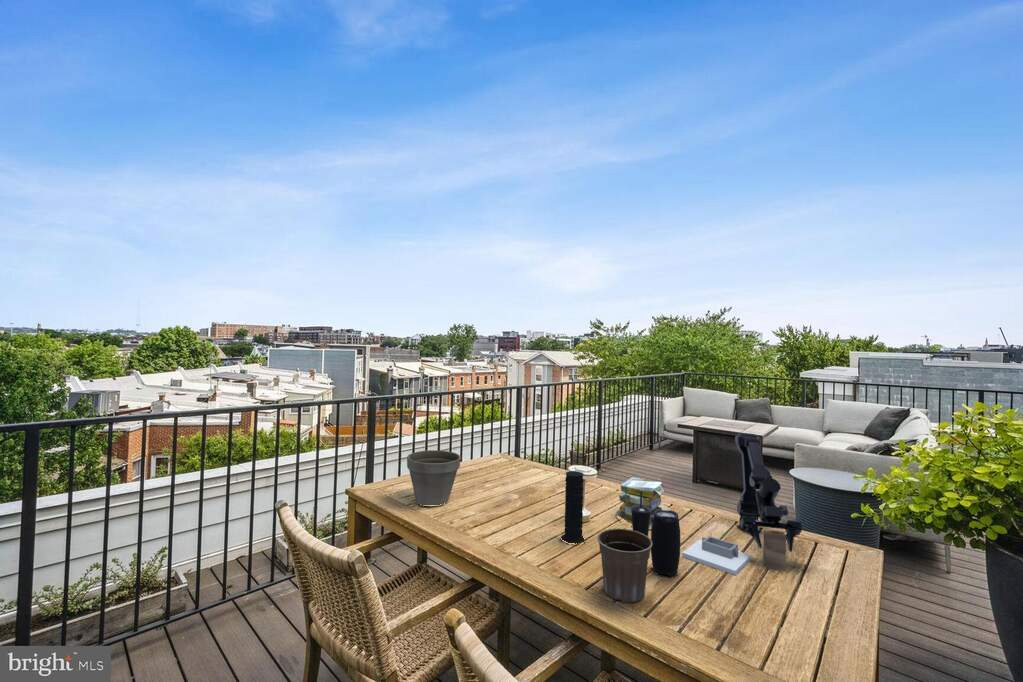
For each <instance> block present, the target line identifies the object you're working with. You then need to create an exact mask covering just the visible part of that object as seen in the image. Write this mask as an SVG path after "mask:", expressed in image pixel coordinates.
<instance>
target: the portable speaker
mask: <svg viewBox="0 0 1023 682" xmlns="http://www.w3.org/2000/svg"><path fill="white" fill-rule="evenodd" d="M650 539H651V541H652V547H651V549H650V558H651V564H652V571H653V572H654V573H655V574H656V573H657V574H656V575H658V576H659V575H661V574H662V575H669V577H670V578H674V577H676V576H677V575H678V570H679V565H680V557H681V526H680V519H679V514H678V512H677V511H674V510H672V509H671V510H669V511H667V510H658V509H656V510H655V511H654V517H653V522H652V527H651V529H650Z"/></svg>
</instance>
